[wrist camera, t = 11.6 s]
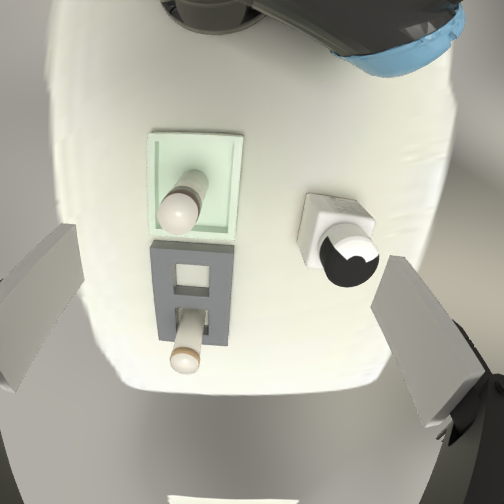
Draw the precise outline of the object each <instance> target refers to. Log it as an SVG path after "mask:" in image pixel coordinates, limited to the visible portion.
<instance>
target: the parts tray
mask: <svg viewBox="0 0 504 504" xmlns="http://www.w3.org/2000/svg"><path fill="white" fill-rule="evenodd" d="M242 147H243V135H236V134H221V133H201V132H151V133H148V136H147V197H148V225H149V235H157V236H172V237H187V238H202V239H217V240H232V241H235V232H236V219H237V206H238V194H239V182H240V170H241V159H242ZM189 170H199V171H201V172H203V173H204V174H205V175H206V177H207V178H208V181H209V187H208V190H207V193H206V195H205V198H204V201H203V204H202V208H201V212H200V215H199V217H198V220H197V222H196V223H195V225H194V227H193V228H192V229H191V230H190V231H189V232H188V233H186V234H182V235H173V234H170V233H168V232H166V231H165V230H164V229H163V228H162V227H161V226H160V224H159V222H158V219H157V211H158V208H159V206H160V204H161V202H162V200H163V199H164V197H165V196H166V195H167V193H168V192H169V191H170V190H171V189H172V188H173V187H174V185H175V184H176V183H177V181H178V180H179V179H180V178H181V176H182V175H183V174H184V173H185V172H187V171H189Z"/></svg>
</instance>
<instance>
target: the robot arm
mask: <svg viewBox="0 0 504 504" xmlns="http://www.w3.org/2000/svg"><path fill="white" fill-rule="evenodd" d="M160 1H161V4H162V6H163V8H164V9H165V11H166V12H167V13H168V15H169V16H170V17H171V18H172V19H173V20H174V21H175V22H177V23H178V24H179V25H181V26H182V27H184V28H186V29H188V30H191V31H194V32H198V33H202V34H211V35H220V34H229V33H233V32H237V31H241V30H243V29H246V28H248V27H250V26H252V25H254V24H255V23H257V22H258V21H260V20H261V19H262V18H263V17H265V16H266V15H268V16H270V17H272V18H274V19H276V20H278V21H280V22H282V23H284V24H286V25H288V26H290V27H292V28H294V29H295V30H297V31H299V32H301V33H303V34H304V35H306V36H308V37H310V38H311V39H313V40H315V41H316V42H318V43H320V44H321V45H323V46H325V47H326V48H328V49H330V52H331V53H332V54H333V55H335V56H336V57H338V58H340V59H344V60H347V61H348V62H350V63H352V64H353V65H355V66H356V67H358V68H360V69H361V70H363V71H364V72H366V73H367V74H370V75H373V76H378V77H383V78H392V77H398V76H403V75H406V74H409V73H411V72H414V71H416V70H418V69H420V68H422V67H424V66H426V65H428V64H429V63H431V62H432V61H434V60H435V59H437V58H438V57H440V56H441V55H442V54H443V53H444V52H446V51H447V50H448V49H449V48H450V47H451V43H450V41H452V40H454V39H457V38H458V37H459V36H460V34H461V32H462V31H463V28H464V25H465V19H466V18H465V13H464V11H463V9H462V6H461V4H460V2H461V1H463V0H160ZM83 282H84V275H83V269H82V264H81V258H80V252H79V245H78V239H77V231H76V225H75V224H63V223H61V224H60V225H59V226H57V227H56V228H55V229H54V230H53V231H52V232H51V233H50V234H49V235H47V236H46V238H44V239H43V240H42V241H41V242H40V243H39V244H38V245H37V246H36V247H35V248H34V249H33V250H31V252H30V253H28V254H27V255H26V257H24V258H23V259H22V260H21V261H20V262H19V263H18V265H16V266H15V268H13V269H12V271H11V272H10V273H9V274H8V275H7V276H6V277H5V278H4V279H2V280H0V388H2V389H5V390H7V391H9V392H12V393H14V394H16V392H17V390H18V388H19V386H20V384H21V382H22V380H23V379H24V377H25V375H26V373H27V371H28V369H29V368H30V366H31V364H32V362H33V360H34V358H35V357H36V355H37V353H38V352H39V350H40V348H41V347H42V345H43V343H44V342H45V340H46V338H47V337H48V335H49V333H50V332H51V330H52V328H53V327H54V325H55V324H56V322H57V321H58V319H59V317H60V316H61V314H62V313H63V311H64V310H65V308H66V307H67V305H68V304H69V302H70V301H71V299H72V298H73V296H74V295H75V293H76V292H77V290H78V289H79V287H80V286H81V285H82V283H83ZM371 309H372V311H373V313H374V315H375V317H376V320H377V322H378V324H379V326H380V328H381V330H382V332H383V334H384V336H385V339H386V341H387V343H388V345H389V347H390V349H391V352H392V354H393V356H394V358H395V360H396V362H397V365H398V367H399V369H400V371H401V374H402V376H403V378H404V381H405V383H406V385H407V388H408V390H409V393H410V395H411V398H412V400H413V403H414V405H415V407H416V410H417V412H418V415H419V417H420V420H421V423H422V425H423V428H426V427H430V426H434V425H438V424H441V423H442V422H443V421H444V420H445V418H446V417H447V416H448V415H449V414H450V415H451V417H452V419H453V420H452V422H451V423H450V424H449V425H448V426H447V427H446V428H445V429H444V430H443V431H442V432H441V433H440V434H439V435H438V436H437V438H436V439H437V440H439V439H440V438H441V437H442V436H443V435H444V434H445V437H444V439H443V440H442V442H443V444H442V446H441V449H440V453H439V455H438V458H437V461H436V464H435V466H434V469H433V472H432V474H431V477H430V480H429V482H428V484H427V487H426V489H425V491H424V494H423V496H422V499H421V500H420V503H419V504H504V375H501V374H492V373H491V371H490V369H489V368H488V366H487V365H486V363H485V361H484V360H483V358H482V357H481V355H480V354H479V352H478V350H477V349H476V348H475V347H474V344H473V343H472V341H471V340H469V337H468V336H467V334H466V332H465V331H464V330H463V328H462V327H461V326H460V325H458V324H457V323H456V322H455V321H454V320H452V319H451V318H450V316H449V315H448V313H447V312H446V311H445V309H444V308H443V307H442V305H441V304H440V302H439V301H438V300H437V298H436V297H435V296H434V294H433V293H432V292H431V290H430V289H429V288H428V286H427V285H426V284H425V282H424V281H423V280H422V279H421V277H420V276H419V275H418V273H417V272H416V271H415V270H414V268H413V267H412V266H411V264H410V263H409V262H408V261H407V260H406V258H405V257H400V256H391V255H390V257H389V259H388V262H387V265H386V268H385V271H384V273H383V276H382V279H381V281H380V284H379V287H378V289H377V292H376V294H375V297H374V299H373V302H372V304H371ZM0 504H24V503H23V500H22V497H21V495H20V492H19V490H18V487H17V484H16V482H15V479H14V476H13V473H12V470H11V467H10V464H9V461H8V457H7V454H6V450H5V447H4V443H3V440H2V436H1V432H0Z"/></svg>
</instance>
